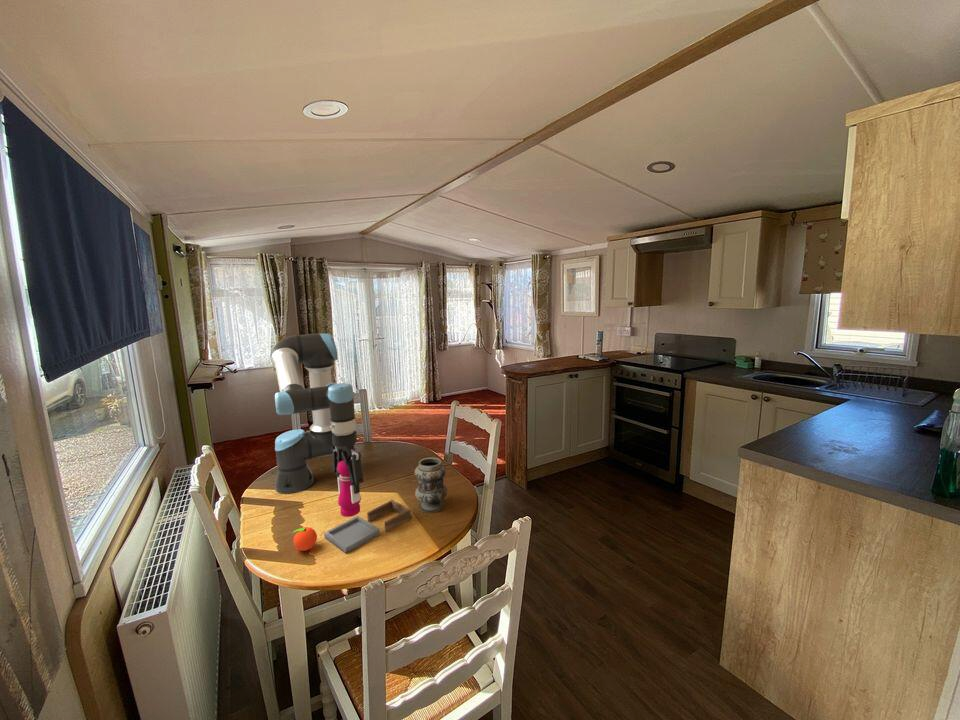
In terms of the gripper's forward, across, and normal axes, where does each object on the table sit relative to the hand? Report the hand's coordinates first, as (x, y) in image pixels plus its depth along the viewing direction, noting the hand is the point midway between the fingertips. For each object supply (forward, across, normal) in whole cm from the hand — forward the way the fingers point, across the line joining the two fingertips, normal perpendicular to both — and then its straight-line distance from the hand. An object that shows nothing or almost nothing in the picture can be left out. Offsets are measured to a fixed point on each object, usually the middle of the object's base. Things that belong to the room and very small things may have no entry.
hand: (349, 497), depth 132 cm
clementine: (+14, -6, -13) cm, 21 cm away
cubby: (+14, +2, +14) cm, 20 cm away
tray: (+14, 0, 0) cm, 14 cm away
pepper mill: (+5, 0, 0) cm, 5 cm away
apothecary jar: (+14, +7, +30) cm, 34 cm away
